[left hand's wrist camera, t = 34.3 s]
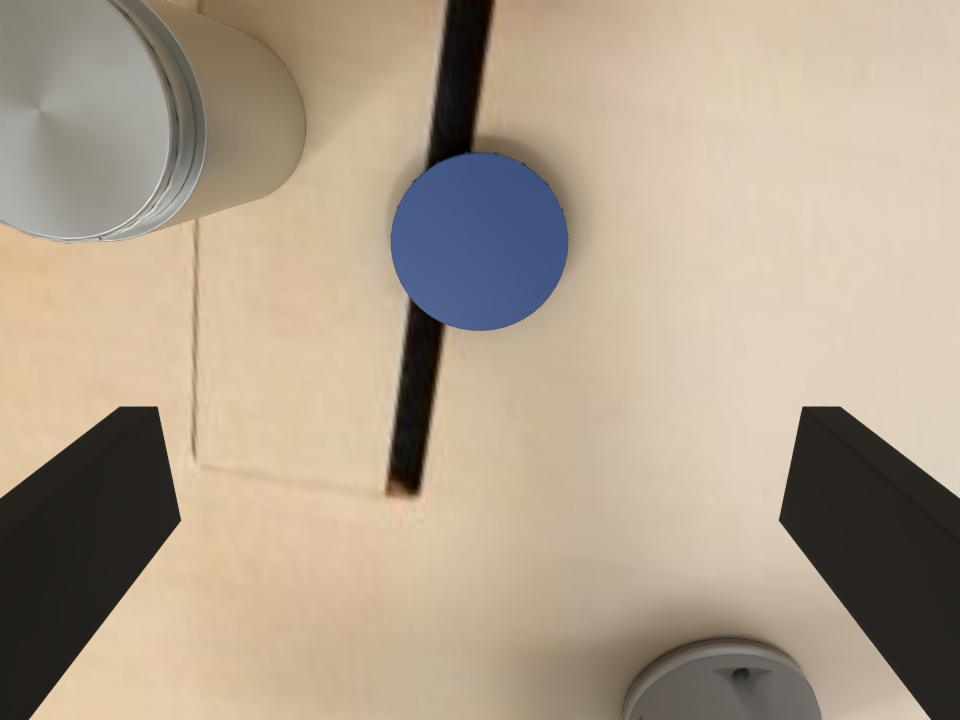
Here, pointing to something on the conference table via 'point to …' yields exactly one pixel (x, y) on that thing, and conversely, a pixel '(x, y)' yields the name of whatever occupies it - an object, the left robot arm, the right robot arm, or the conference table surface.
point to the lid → (479, 241)
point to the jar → (136, 118)
